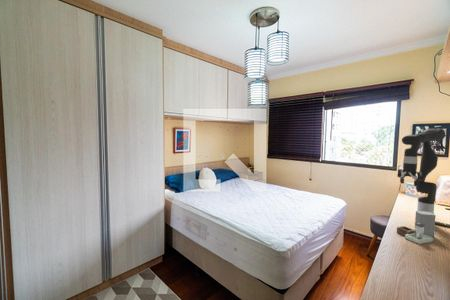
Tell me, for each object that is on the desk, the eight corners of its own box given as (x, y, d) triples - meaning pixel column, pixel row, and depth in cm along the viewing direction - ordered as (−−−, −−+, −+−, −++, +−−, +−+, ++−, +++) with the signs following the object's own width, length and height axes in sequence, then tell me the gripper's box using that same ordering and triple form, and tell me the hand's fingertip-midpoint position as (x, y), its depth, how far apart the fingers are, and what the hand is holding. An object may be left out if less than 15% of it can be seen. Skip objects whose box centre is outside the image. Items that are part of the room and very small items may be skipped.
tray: (418, 235, 140) (418, 232, 140) (433, 241, 132) (433, 237, 132) (404, 238, 136) (405, 234, 136) (419, 244, 128) (419, 240, 128)
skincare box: (428, 233, 144) (430, 211, 143) (435, 238, 137) (436, 215, 136) (413, 231, 146) (415, 209, 146) (419, 235, 140) (420, 213, 139)
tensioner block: (403, 231, 146) (404, 226, 146) (415, 236, 139) (415, 230, 139) (396, 232, 144) (397, 227, 144) (407, 237, 138) (408, 231, 137)
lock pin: (417, 236, 137) (418, 222, 136) (425, 240, 132) (426, 225, 132) (412, 237, 136) (413, 223, 135) (420, 241, 131) (421, 226, 131)
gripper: (425, 163, 142) (424, 186, 143) (403, 161, 156) (401, 182, 157) (418, 164, 140) (416, 187, 141) (395, 161, 154) (394, 182, 155)
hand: (408, 184), depth 149 cm, fingers open, 8 cm apart
